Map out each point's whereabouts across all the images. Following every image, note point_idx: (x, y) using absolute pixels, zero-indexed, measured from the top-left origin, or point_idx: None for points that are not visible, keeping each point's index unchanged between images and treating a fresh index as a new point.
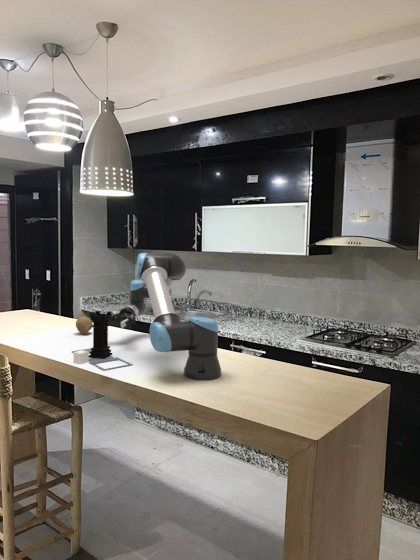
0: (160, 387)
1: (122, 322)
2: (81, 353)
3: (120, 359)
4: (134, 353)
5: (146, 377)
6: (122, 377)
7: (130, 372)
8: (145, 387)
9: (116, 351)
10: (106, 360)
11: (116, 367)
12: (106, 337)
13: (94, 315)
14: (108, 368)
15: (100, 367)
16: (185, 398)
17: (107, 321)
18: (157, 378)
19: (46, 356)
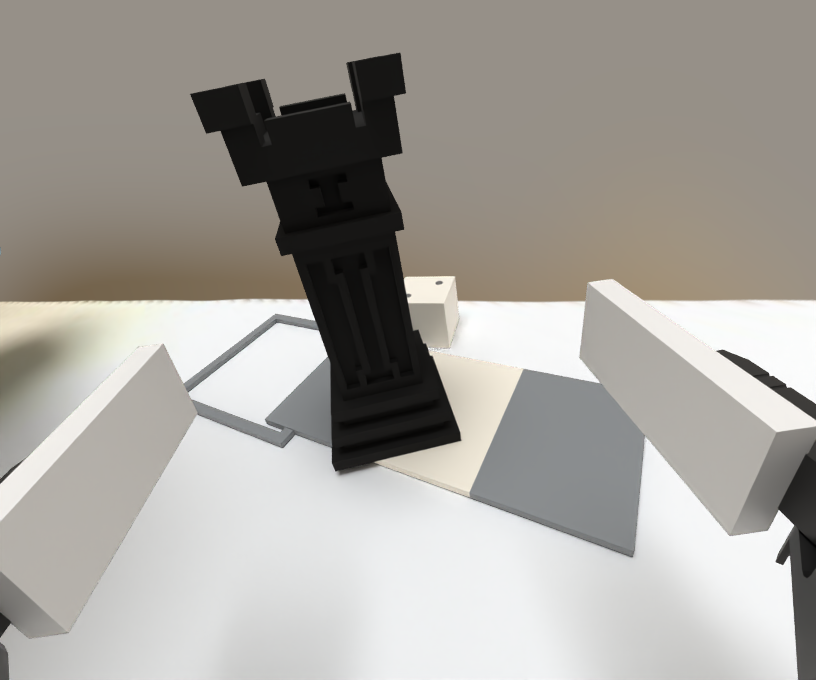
0: (71, 316)
1: (130, 361)
2: (404, 281)
3: (245, 423)
4: (171, 627)
5: (106, 341)
6: (193, 312)
7: (169, 346)
8: (117, 301)
9: (365, 599)
10: (314, 376)
11: (234, 346)
12: (331, 337)
13: (353, 91)
14: (263, 327)
15: (298, 320)
16: (20, 305)
17: (275, 201)
18: (65, 350)
19: (654, 305)
